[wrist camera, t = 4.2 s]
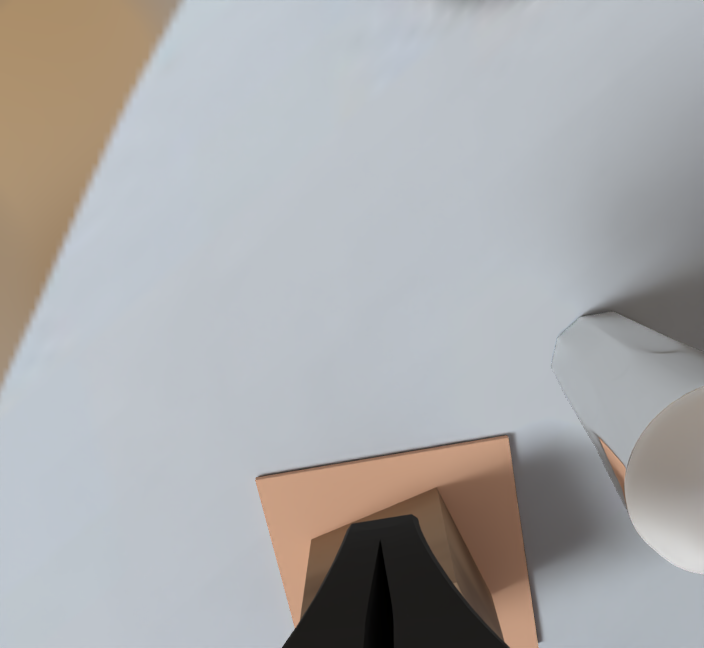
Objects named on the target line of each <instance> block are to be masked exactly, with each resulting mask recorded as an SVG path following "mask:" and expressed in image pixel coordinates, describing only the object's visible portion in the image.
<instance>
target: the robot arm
mask: <svg viewBox="0 0 704 648" xmlns="http://www.w3.org/2000/svg"><path fill="white" fill-rule="evenodd" d="M282 648H510V647H509V646H508V645H507V644H506V643H505V642H504V641H503V640H502V639H501V638H500V637H499V636H498V635H497V634H496V633H495V632H494V631H493V630H492V629H491V628H490V627H489V626H488V625H487V624H486V623H485V622H484V621H483V619H482V618H481V617H480V616H479V615H478V614H477V613H476V612H475V610H474V609H473V608H472V607H471V606H470V604H469V603H468V602H467V601H466V599H465V598H464V597H463V596H462V594H461V593H460V592H459V591H458V589H457V588H456V587H455V585H454V584H453V583H452V581H451V580H450V578H449V577H448V575H447V574H446V572H445V571H444V569H443V568H442V566H441V565H440V563H439V562H438V560H437V559H436V557H435V556H434V554H433V552H432V550H431V549H430V547H429V545H428V543H427V541H426V539H425V537H424V535H423V533H422V530H421V528H420V525H419V520H418V518H417V517H415V516H414V515H413V514H408V515H402V516H396V517H390V518H384V519H377V520H371V521H365V522H359V523H353V524H351V525H350V527H349V528H348V529H347V531H346V534H345V536H344V539H343V541H342V544H341V546H340V548H339V550H338V552H337V555H336V557H335V559H334V561H333V563H332V565H331V567H330V569H329V571H328V573H327V575H326V577H325V578H324V580H323V582H322V584H321V586H320V588H319V590H318V592H317V593H316V595H315V597H314V599H313V600H312V602H311V604H310V605H309V607H308V609H307V610H306V612H305V613H304V615H303V617H302V618H301V620H300V621H299V623H298V625H297V626H296V628H295V629H294V631H293V632H292V634H291V635H290V637H289V638H288V640H287V641H286V643H285V644H284V645H283V647H282Z"/></svg>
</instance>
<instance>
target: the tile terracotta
mask: <svg viewBox="0 0 704 648" xmlns="http://www.w3.org/2000/svg"><path fill="white" fill-rule="evenodd" d="M255 481H256V485H257V488H258V492H259V496H260V499H261V503H262V507H263V511H264V514H265V518H266V522H267V526H268V529H269V533H270V537H271V540H272V544H273V548H274V552H275V555H276V559H277V563H278V567H279V570H280V574H281V578H282V581H283V585H284V589H285V593H286V596H287V600H288V604H289V608H290V611H291V615H292V619H293V623H294V626H295V628H296V626H297V625H298V623H299V621H300V616H301V609H302V601H303V594H304V587H305V580H306V573H307V566H308V558H309V551H310V544H311V539H314V538H316V537H318V536H321V535H323V534H326V533H328V532H330V531H333V530H335V529H338V528H340V527H342V526H345V525H347V524H350V523H352V522H354V521H357V520H359V519H362V518H364V517H366V516H369V515H371V514H373V513H376V512H378V511H381V510H383V509H385V508H388V507H390V506H393V505H395V504H397V503H400V502H402V501H405V500H407V499H409V498H412V497H414V496H417V495H419V494H421V493H424V492H426V491H428V490H431V489H433V488H436V487H437V489H438V491H439V493H440V495H441V497H442V499H443V501H444V503H445V505H446V507H447V509H448V511H449V513H450V514H451V516H452V518H453V520H454V522H455V524H456V526H457V528H458V530H459V532H460V534H461V536H462V538H463V540H464V542H465V544H466V546H467V548H468V550H469V552H470V554H471V556H472V558H473V560H474V562H475V564H476V566H477V567H478V569H479V571H480V573H481V575H482V577H483V579H484V581H485V583H486V585H487V587H488V589H489V591H490V593H491V595H492V599H493V602H494V606H495V609H496V613H497V616H498V620H499V624H500V627H501V631H502V634H503V638H504V641H505V643H506V644H507V645H508V646H509V647H510V648H538V641H537V634H536V627H535V620H534V613H533V606H532V599H531V592H530V585H529V578H528V571H527V564H526V557H525V550H524V543H523V536H522V529H521V522H520V515H519V508H518V501H517V494H516V487H515V480H514V473H513V466H512V459H511V452H510V445H509V438H508V436H507V435H505V436H499V437H493V438H487V439H481V440H476V441H470V442H464V443H458V444H452V445H446V446H440V447H434V448H428V449H422V450H416V451H410V452H404V453H398V454H392V455H386V456H380V457H375V458H369V459H363V460H357V461H351V462H345V463H339V464H333V465H327V466H321V467H315V468H309V469H303V470H297V471H291V472H285V473H279V474H273V475H268V476H262V477H256V480H255Z"/></svg>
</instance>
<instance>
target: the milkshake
mask: <svg viewBox="0 0 704 648" xmlns="http://www.w3.org/2000/svg"><path fill="white" fill-rule="evenodd" d="M551 369H552V371H553V373H554V375H555V377H556V379H557V381H558V383H559V385H560V387H561V389H562V391H563V393H564V395H565V397H566V398H567V400H568V402H569V404H570V405H571V407H572V409H573V410H574V412H575V414H576V415H577V417H578V419H579V421H580V422H581V424H582V426H583V427H584V429H585V431H586V432H587V434H588V436H589V438H590V439H591V441H592V443H593V444H594V446H595V448H596V450H597V451H598V454H599V456H600V459H601V461H602V463H603V465H604V467H605V469H606V471H607V473H608V475H609V477H610V479H611V481H612V483H613V485H614V487H615V489H616V491H617V493H618V495H619V497H620V499H621V501H622V503H623V504H624V506H625V508H626V510H627V512H628V514H629V516H630V519H631V521H632V523H633V525H634V527H635V529H636V531H637V532H638V534H639V535H640V536H641V537H642V539H643V540H644V541H645V542H646V543H647V544H648V545H649V546H650V547H651V548H652V549H654V550H655V551H656V552H657V553H658V554H659V555H661V556H662V557H663V558H664V559H666V560H667V561H669V562H670V563H672V564H673V565H675V566H677V567H679V568H681V569H683V570H686V571H689V572H693V573H698V574H704V351H701V350H698V349H696V348H693V347H690V346H688V345H686V344H683V343H681V342H679V341H677V340H674V339H672V338H670V337H668V336H665V335H663V334H661V333H659V332H657V331H654V330H652V329H650V328H648V327H646V326H644V325H641V324H639V323H637V322H635V321H633V320H631V319H628V318H626V317H624V316H622V315H620V314H618V313H615V312H613V311H610V312H604V313H599V314H593V315H588V316H582V317H579V318H578V319H577V320H576V321H575V322H574V323H573V324H572V325H571V326H570V327H569V328H568V329H567V330H565V331H564V332H563V333H562V334H561V335H560V336H559V337H558V338H557V341H556V345H555V350H554V354H553V359H552V363H551Z"/></svg>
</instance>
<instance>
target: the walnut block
mask: <svg viewBox="0 0 704 648" xmlns="http://www.w3.org/2000/svg"><path fill="white" fill-rule="evenodd" d="M408 514H413V515H414V516H415V517H417V518H418V520H419V525H420V528H421V530H422V533H423V535H424V537H425V539H426V541H427V543H428V545H429V547H430V549H431V550H432V552H433V554H434V556H435V557H436V559H437V560H438V562H439V563H440V565H441V566H442V568H443V569H444V571H445V572H446V574H447V575H448V577H449V578H450V580H451V581H452V583H453V584H454V585H455V587H456V588H457V589H458V591H459V592H460V593H461V594H462V596H463V597H464V598H465V599H466V601H467V602H468V603H469V604H470V606H471V607H472V608H473V609H474V610H475V612H476V613H477V614H478V615H479V616H480V617H481V618H482V619H483V621H484V622H485V623H486V624H487V625H488V626H489V627H490V628H491V629H492V630H493V631H494V632H495V633H496V634H497V635H498V636H499V637H500V638H501V639H502V640H503V641H504V638H503V634H502V631H501V627H500V624H499V620H498V616H497V613H496V609H495V606H494V602H493V599H492V595H491V593H490V591H489V589H488V587H487V585H486V583H485V581H484V579H483V577H482V575H481V573H480V571H479V569H478V567H477V566H476V564H475V562H474V560H473V558H472V556H471V554H470V552H469V550H468V548H467V546H466V544H465V542H464V540H463V538H462V536H461V534H460V532H459V530H458V528H457V526H456V524H455V522H454V520H453V518H452V516H451V514H450V513H449V511H448V509H447V507H446V505H445V503H444V501H443V499H442V497H441V495H440V493H439V491H438V489H437V487H436V488H433V489H431V490H428V491H426V492H424V493H421V494H419V495H417V496H414V497H412V498H409V499H407V500H405V501H402V502H400V503H397V504H395V505H393V506H390V507H388V508H385V509H383V510H381V511H378V512H376V513H373V514H371V515H369V516H366V517H364V518H362V519H359V520H357V521H354V522H352V523H350V524H347V525H345V526H342V527H340V528H338V529H335V530H333V531H330V532H328V533H326V534H323V535H321V536H318V537H316V538H314V539H311V544H310V551H309V558H308V566H307V573H306V580H305V587H304V594H303V601H302V609H301V616H300V620H301V618H302V617H303V615H304V613H305V612H306V610H307V609H308V607H309V605H310V604H311V602H312V600H313V599H314V597H315V595H316V593H317V592H318V590H319V588H320V586H321V584H322V582H323V580H324V578H325V577H326V575H327V573H328V571H329V569H330V567H331V565H332V563H333V561H334V559H335V557H336V555H337V552H338V550H339V548H340V546H341V544H342V541H343V539H344V536H345V534H346V531H347V529H348V528H349V527H350V525H351V524H353V523H359V522H365V521H371V520H377V519H384V518H390V517H396V516H402V515H408ZM504 642H505V641H504Z"/></svg>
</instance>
